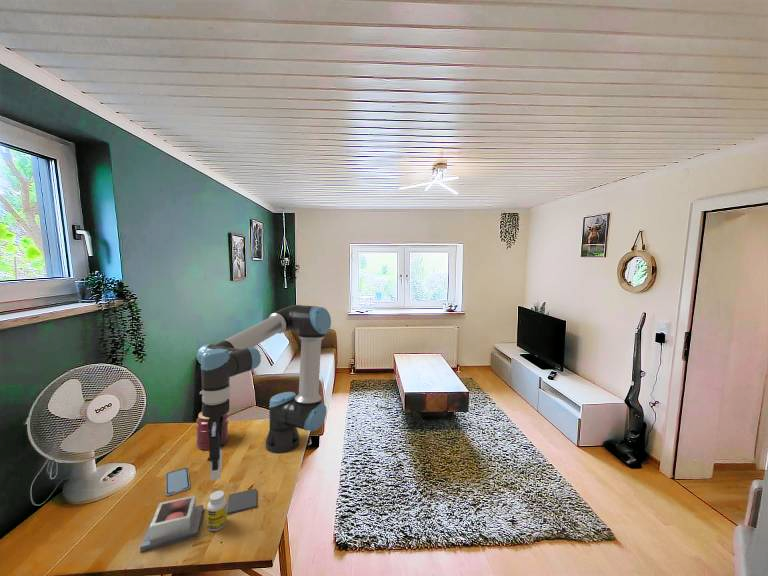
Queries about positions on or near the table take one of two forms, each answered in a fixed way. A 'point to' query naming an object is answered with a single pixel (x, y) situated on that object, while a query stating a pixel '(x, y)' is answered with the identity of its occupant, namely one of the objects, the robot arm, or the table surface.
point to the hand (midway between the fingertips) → (216, 473)
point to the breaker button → (175, 516)
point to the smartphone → (177, 481)
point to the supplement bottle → (216, 511)
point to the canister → (203, 431)
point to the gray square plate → (242, 501)
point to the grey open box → (173, 523)
